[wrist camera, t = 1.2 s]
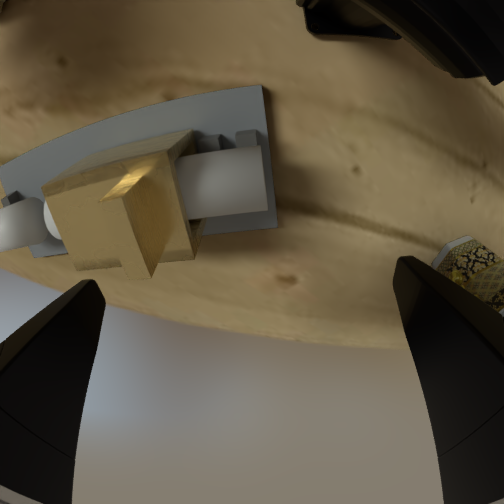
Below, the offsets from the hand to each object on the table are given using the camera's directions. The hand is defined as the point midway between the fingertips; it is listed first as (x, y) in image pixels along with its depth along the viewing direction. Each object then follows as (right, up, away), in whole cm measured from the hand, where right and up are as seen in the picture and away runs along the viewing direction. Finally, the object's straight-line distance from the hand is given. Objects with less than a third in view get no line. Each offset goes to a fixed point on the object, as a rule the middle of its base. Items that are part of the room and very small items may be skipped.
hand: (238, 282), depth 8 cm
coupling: (-7, +6, +11) cm, 14 cm away
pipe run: (-10, +6, +12) cm, 17 cm away
